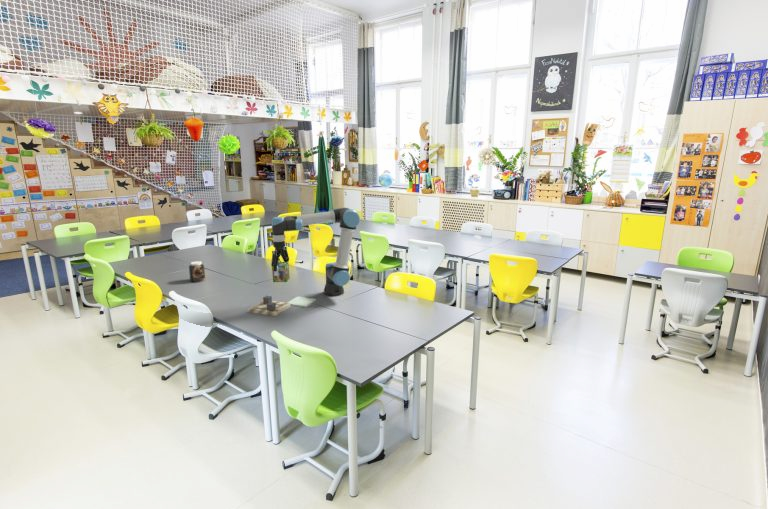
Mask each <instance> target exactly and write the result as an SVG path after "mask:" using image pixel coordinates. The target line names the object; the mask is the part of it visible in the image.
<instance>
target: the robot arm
mask: <svg viewBox="0 0 768 509" xmlns="http://www.w3.org/2000/svg"><path fill="white" fill-rule="evenodd" d="M360 221H361V217H360V214H359V212H357V211H356V210H354V209H352V208H349V207H341V208H335V209H331V210H329V211H322V212H316V213H315V212H314V213H309V214H307V213H306V214H300V215H299V214H298V215H291V216H290V215H286V216H284V217H283V216H275V217H272V218H271V230H272V243H273V244H272V245H273V248H274V250H272V251H271V263H270V264H271V265H270V266H271V267H272V266H274V275H275V276H279V272H278V266H277V264H278V260H279V259H280V257H281V258H282V261H283V262H288V263H289V260H290V256H289V253H288V247H287V246H286V240H285V239H286V238H285V237H286V236H285V232H293V231H297V232H298V231H301V230H303V227H304V226H312V225H319V224H327V223H332V224H336V223H337V224H338V223H339V229H340V235H339V241H338V248H337V254H336V259H335V261H334V262H332V261H331V262H326V264H325V267H324V268H325V284H324V289H323V294H324V295H326V296H330V297H331V296H332V297H333V296H334V297H335V296H336V297H337V296H341V295H344V293H345V289H344V286H346V285H348V283H349V282H350V281H351V274H350V273H349V272H350V266H349V258H350V252H351V247H352V240H353V237H354V235H353V234H354V232H355V231H356V230H357V227H358V225H359V224H360Z"/></svg>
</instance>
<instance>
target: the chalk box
mask: <svg viewBox="0 0 768 509" xmlns="http://www.w3.org/2000/svg"><path fill="white" fill-rule="evenodd" d="M277 266H278V272H279V276H275V275H274V266H271V272H272V273H271V274H272V282H273V283H287V282H288V281H289V280H290V268H289V267H290V266H289V262H284V261H283V262H282V261H281V259H280V258H279V260H278V264H277Z"/></svg>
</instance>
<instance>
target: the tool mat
mask: <svg viewBox="0 0 768 509" xmlns="http://www.w3.org/2000/svg"><path fill="white" fill-rule="evenodd" d="M316 301H317V299H316V298H311V297H305V296H295V297H294V298H293V299H291V300H289V301H287V302H286V303H291V306H293V307H299V308H300V307H302V308H307V307H308V306H310V305H311V304H313V303H315V302H316Z"/></svg>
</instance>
